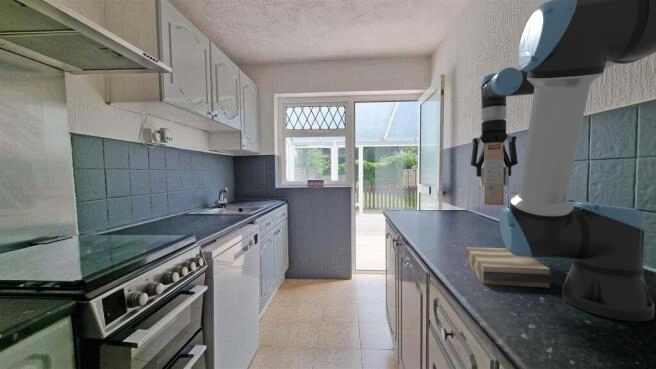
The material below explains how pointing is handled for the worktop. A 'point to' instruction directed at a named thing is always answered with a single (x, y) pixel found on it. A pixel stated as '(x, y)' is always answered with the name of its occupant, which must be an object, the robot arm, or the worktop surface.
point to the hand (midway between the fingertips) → (493, 185)
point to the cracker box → (494, 173)
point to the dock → (507, 268)
